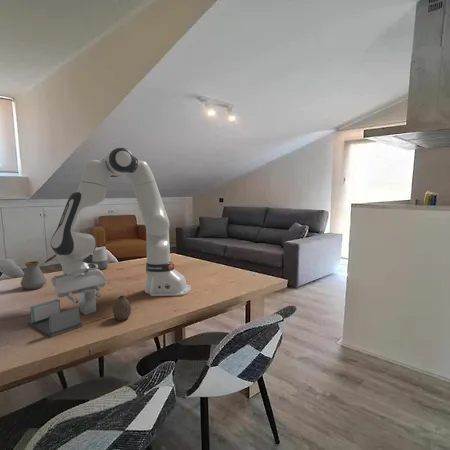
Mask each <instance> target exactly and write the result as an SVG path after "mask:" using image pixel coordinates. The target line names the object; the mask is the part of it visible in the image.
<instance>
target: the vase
mask: <svg viewBox="0 0 450 450" xmlns="http://www.w3.org/2000/svg"><path fill="white" fill-rule="evenodd" d="M112 314H113V317H114V318H115V319H116V320H117V321H126V320H127V319H128V318H130V316H131V314H132V305H131V302H130V301H129V300H128V299H127V298H126V297H125V295H119V296H118V297H117V299H116V300H115V302H114V303H113V305H112Z"/></svg>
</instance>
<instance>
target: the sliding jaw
mask: <svg viewBox="0 0 450 450" xmlns="http://www.w3.org/2000/svg"><path fill="white" fill-rule="evenodd" d="M29 308H30V319H31V320H30V321H31V322H32V323H35V322H38V321H41V320H45V319H48V316H49V315H53V314H56V313H59V312H62V311H61V300H60V299H59V298H57V299H53V300H49V301H47V302H46V301H45V302H41V303H38V304H35V305H32V306H31V305H30V306H29Z"/></svg>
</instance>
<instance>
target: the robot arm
mask: <svg viewBox="0 0 450 450" xmlns="http://www.w3.org/2000/svg"><path fill="white" fill-rule="evenodd" d="M123 175H125V176H126V177H127V178H128V179H129V181H130V184H131V188H132V190H133V192H134V196H135V198H136V201H137V204H138V208H139V210H140V213H141V217H142V220H143V223H144V226H145V230H146V231H145V232H146V233H145V234H146V235H145V236H146V237H145V238H146V242H145V243H146V263H145V271H146V272H145V273H146V281H145V289H144V293H146V294H148V295H149V296H150V297H169V296H171V297H174V296H176V297H177V296H185V295H187V294H189V293H190V292H191V289H192V286H191V285H190V284H187V280H186V277H185V276H184V275H183V274H181V273H180V272H179V271H178V270H176V269H175V262H172V261H171V251H170V250H171V248H170V247H171V245H170V219H169V216H168V214H167V211H166V208H165V207H166V206H165V205H164V202H163V199H162V196H161V193H160V190H159V188H158V185H157V181H156V179H155V176H154V173H153V172H152V169H151V167H150V166H149V164H148V163H147V162H146V161H145V160H140V159H139V160H138V158H137V157H135V155H134V154H133V153H132V152H131V150H130V149H127V148H124V147H117V148H116V147H115V148H114V149H113V150H111V151H110V152H109V153H107V155H106V156H105V157H104V158H103V159H102V160H99V159H91V160H88V161H87V162H86V163H85V166H84V168H83V170H82V174H81V177H80V181H79V185H78V187H77V189H76V190H75V192H73V193H71V194H70V195H69V198H68V200H67V202H66V204H65V207H64V209H63V212H62V215H61V217H60V220H59V223H58V225H57V228H56V229H55V231H54V233H53V235H52V237H51V239H50V247H51V249H52V251H53V252H54V253H55V255H57V256H56V259H57V261H58V262H59V264H60V266H61V268H62V269H61V270H62V272H63V274H60V275H59V274H58V275H54V276H53V277H52V278H51V280H50V281H51V284H52V286H53V287H54V292H55V296H56V297H57V298H58V299H59V298H64V297H67V299H69V300H70V301H71V302H72V303H73V305H75V304H78V303H79V299H78V297H75V296H74V295H76V294H79V290H83V289H88V288H91V289H94V290H95V295H96V299H97V298H101V296H102V294H101V288H104V287H105V286H106V284H107V281H108V280H107V278H106V276H105V274H104V273H103V271H102V270H99V269H98V265H97V264H92V263H90V262H84V259H86V258H88V257H90V256H91V255H93V252H94V251H95V249H97V241H96V240H97V239H96V238H95V237H94V236H93V235H92V234H89V233H84V232H77V231H74V227H75V224H76V222H77V219H78V216H79V213H80V212H81V211H82V210H83V209H85V208H88V207H94V206H97V205H99V204H101V203H103V201H104V200H105V197H106V194H107V189H108V184H109V183H108V182H109V180H110V178H118V177H121V176H123Z"/></svg>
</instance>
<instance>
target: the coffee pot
mask: <svg viewBox="0 0 450 450" xmlns="http://www.w3.org/2000/svg"><path fill="white" fill-rule="evenodd" d="M54 258H57V255H56V254H54V255H53V256H50V257H49V258H48V259H46V260H45V261H44V262H43V263H41V262H40V261H35V260H34V261H28V262H25V263H24V265H25V266H26V269H25V271H24V274H23V276H22V279H21V282H20V286H21V287H22V288H23V289H25V290H27V291H28V290H36V289H41V288H43V286H45V284H46V282H47V279H46V277H45V275H44V273H43V272H42V270H41V267H42V266H44V265H45V264H47V263H48V262H50V261H52V260H53V259H54Z"/></svg>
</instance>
